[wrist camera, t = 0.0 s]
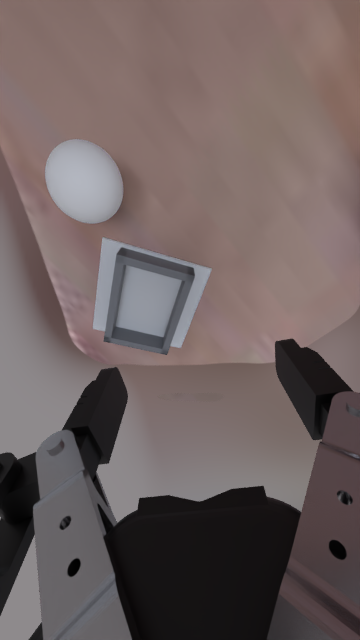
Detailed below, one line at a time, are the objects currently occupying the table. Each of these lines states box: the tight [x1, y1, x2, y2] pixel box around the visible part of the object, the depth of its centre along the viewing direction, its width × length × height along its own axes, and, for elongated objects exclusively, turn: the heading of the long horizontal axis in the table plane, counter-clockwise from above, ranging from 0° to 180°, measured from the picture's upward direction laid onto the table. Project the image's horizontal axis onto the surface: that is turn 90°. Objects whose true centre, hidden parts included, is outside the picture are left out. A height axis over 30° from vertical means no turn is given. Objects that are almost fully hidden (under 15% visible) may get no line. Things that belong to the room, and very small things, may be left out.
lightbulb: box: [45, 139, 123, 224], centre depth 21 cm, size 6×6×11 cm
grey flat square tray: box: [93, 237, 212, 355], centre depth 33 cm, size 15×15×3 cm
